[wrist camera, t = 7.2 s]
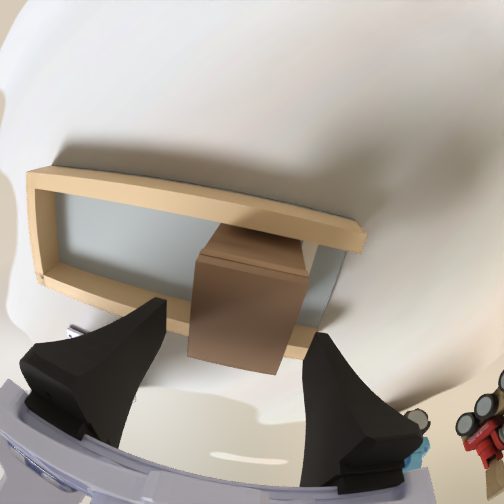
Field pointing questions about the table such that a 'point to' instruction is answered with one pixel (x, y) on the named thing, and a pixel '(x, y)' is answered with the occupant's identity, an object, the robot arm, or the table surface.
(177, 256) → the bay
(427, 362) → the table surface
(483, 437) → the toy fire truck
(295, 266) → the box
